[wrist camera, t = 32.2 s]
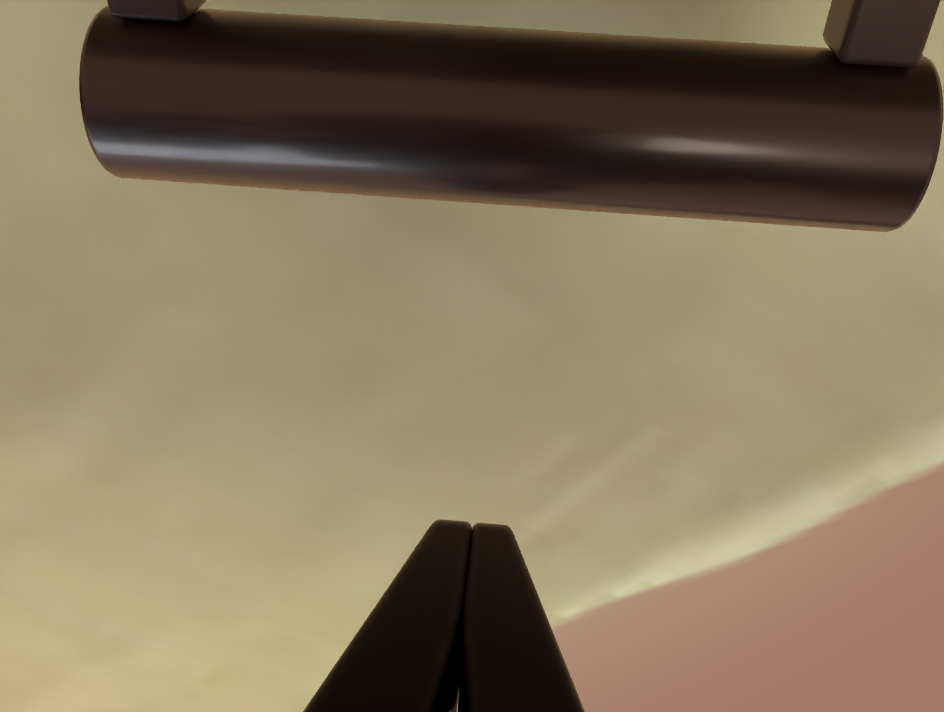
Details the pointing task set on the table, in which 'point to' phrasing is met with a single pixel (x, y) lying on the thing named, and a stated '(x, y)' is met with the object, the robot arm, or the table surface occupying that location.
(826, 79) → the drawer
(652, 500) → the table surface
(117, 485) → the table surface
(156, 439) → the table surface
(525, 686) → the robot arm
